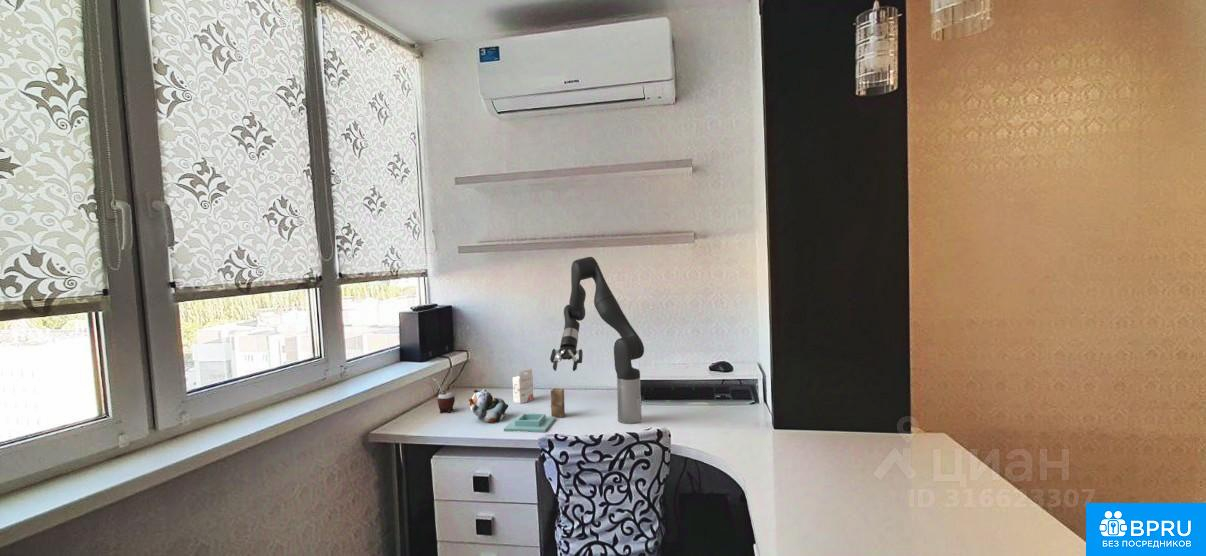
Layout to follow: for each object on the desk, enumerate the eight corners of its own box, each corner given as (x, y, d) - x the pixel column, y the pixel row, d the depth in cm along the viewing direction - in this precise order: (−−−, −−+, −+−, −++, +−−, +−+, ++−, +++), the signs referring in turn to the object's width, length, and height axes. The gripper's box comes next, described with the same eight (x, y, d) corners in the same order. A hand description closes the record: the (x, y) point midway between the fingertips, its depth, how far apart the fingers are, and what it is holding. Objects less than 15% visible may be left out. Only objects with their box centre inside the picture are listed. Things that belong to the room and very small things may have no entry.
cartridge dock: (555, 419, 195) (555, 411, 195) (544, 432, 180) (544, 424, 180) (517, 418, 198) (517, 410, 198) (503, 431, 182) (503, 423, 182)
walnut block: (564, 414, 201) (564, 388, 201) (562, 418, 197) (561, 391, 197) (554, 414, 202) (553, 388, 202) (551, 417, 198) (550, 391, 197)
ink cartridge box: (526, 398, 228) (525, 367, 228) (533, 399, 225) (532, 368, 225) (512, 402, 222) (511, 370, 221) (520, 404, 219) (519, 371, 218)
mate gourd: (457, 411, 210) (457, 377, 209) (441, 415, 204) (440, 380, 204) (449, 408, 215) (448, 374, 214) (432, 412, 209) (431, 377, 209)
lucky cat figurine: (499, 424, 190) (481, 395, 187) (475, 434, 193) (457, 406, 191) (513, 403, 204) (496, 376, 201) (491, 412, 207) (474, 386, 205)
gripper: (553, 335, 221) (546, 365, 210) (583, 335, 219) (578, 365, 208) (556, 344, 227) (550, 374, 216) (585, 344, 224) (581, 374, 213)
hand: (564, 370), depth 212 cm, fingers open, 8 cm apart
